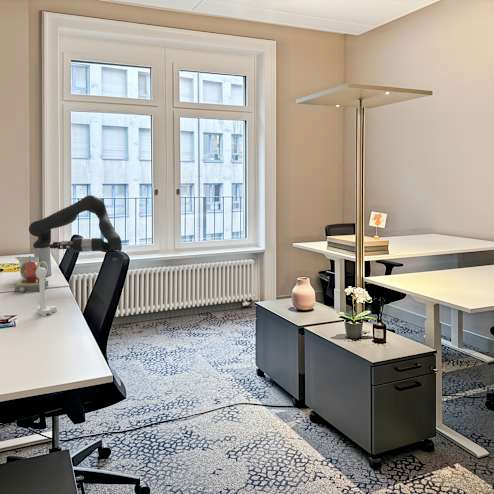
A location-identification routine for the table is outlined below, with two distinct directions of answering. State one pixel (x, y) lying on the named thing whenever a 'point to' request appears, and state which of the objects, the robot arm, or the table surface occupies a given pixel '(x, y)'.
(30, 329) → the table surface
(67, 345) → the table surface
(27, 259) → the pitcher
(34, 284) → the grey tray
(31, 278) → the spout can
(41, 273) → the joystick
